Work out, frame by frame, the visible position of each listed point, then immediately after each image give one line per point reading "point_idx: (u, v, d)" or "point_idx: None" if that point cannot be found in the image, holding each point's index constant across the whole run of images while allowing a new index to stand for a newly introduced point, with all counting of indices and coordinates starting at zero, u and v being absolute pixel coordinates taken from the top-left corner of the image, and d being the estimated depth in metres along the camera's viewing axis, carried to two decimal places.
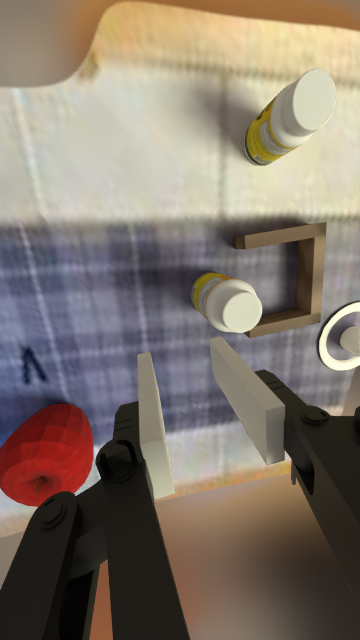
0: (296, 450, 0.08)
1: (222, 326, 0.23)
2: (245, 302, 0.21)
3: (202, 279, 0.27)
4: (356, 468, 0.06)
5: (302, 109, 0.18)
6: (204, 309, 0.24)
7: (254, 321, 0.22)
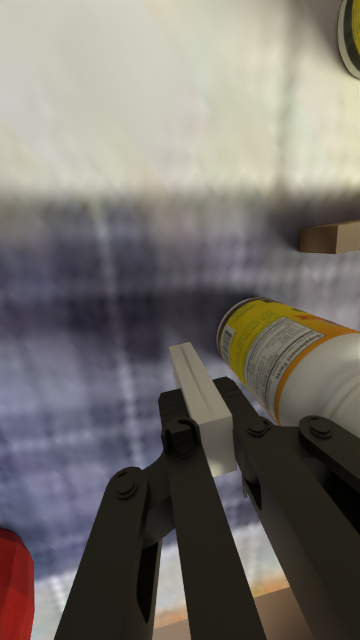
0: (244, 464, 0.08)
1: None
2: None
3: (246, 316, 0.13)
4: (297, 479, 0.06)
5: None
6: (273, 404, 0.10)
7: None
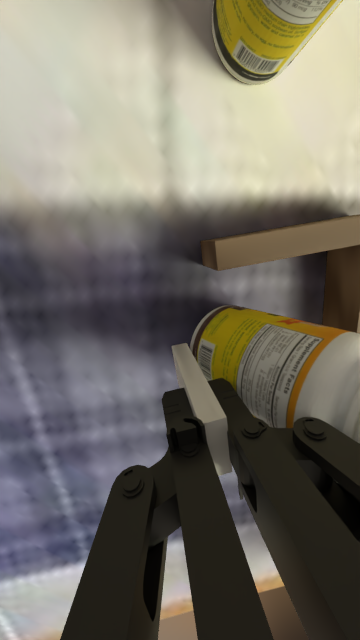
0: (239, 465, 0.08)
1: None
2: None
3: (224, 327, 0.12)
4: (291, 480, 0.06)
5: None
6: (284, 422, 0.09)
7: None
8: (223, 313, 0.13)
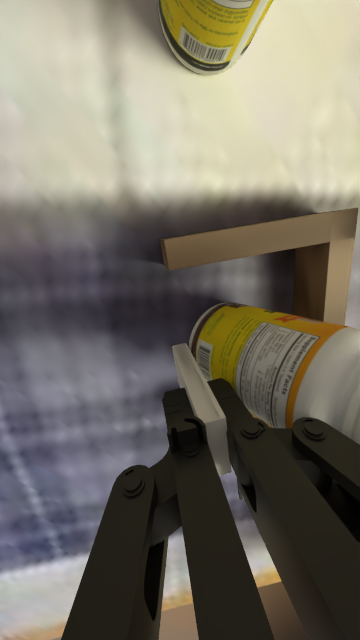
0: (239, 466, 0.08)
1: None
2: None
3: (220, 327, 0.12)
4: (291, 481, 0.06)
5: None
6: (283, 422, 0.09)
7: None
8: (219, 312, 0.13)
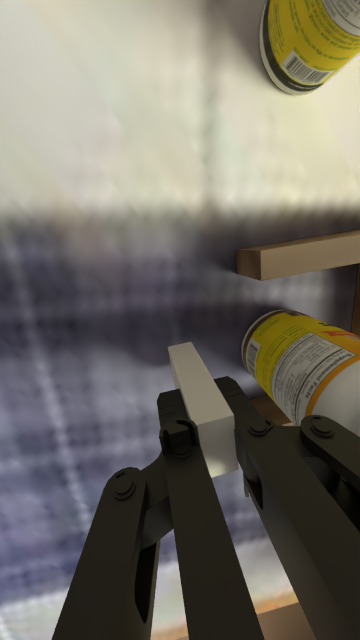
0: (245, 463, 0.08)
1: None
2: None
3: (271, 330, 0.14)
4: (298, 478, 0.06)
5: None
6: None
7: None
8: (275, 317, 0.14)
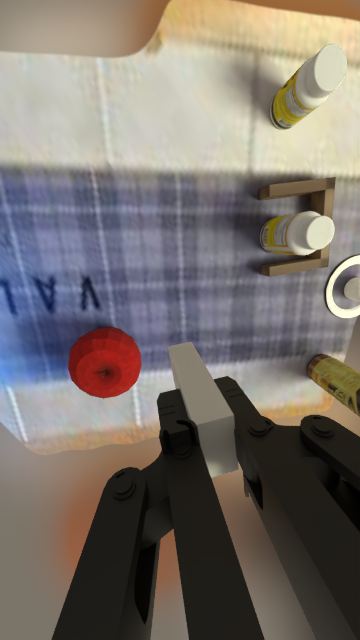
0: (245, 463, 0.08)
1: (299, 249, 0.30)
2: (323, 224, 0.28)
3: (273, 220, 0.34)
4: (298, 478, 0.06)
5: (321, 74, 0.25)
6: (284, 237, 0.31)
7: (328, 239, 0.29)
8: (275, 217, 0.35)
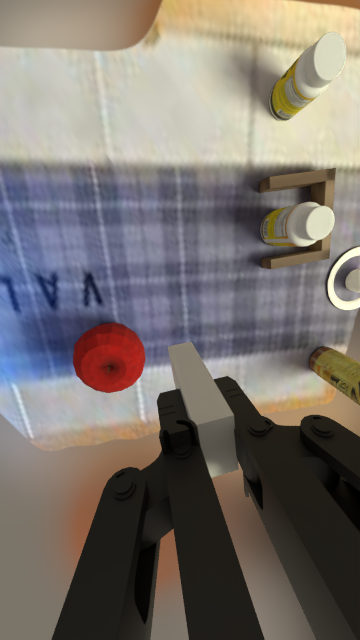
0: (245, 463, 0.08)
1: (299, 240, 0.30)
2: (323, 214, 0.28)
3: (274, 212, 0.34)
4: (298, 478, 0.06)
5: (321, 63, 0.25)
6: (284, 228, 0.31)
7: (328, 230, 0.29)
8: (275, 210, 0.35)
